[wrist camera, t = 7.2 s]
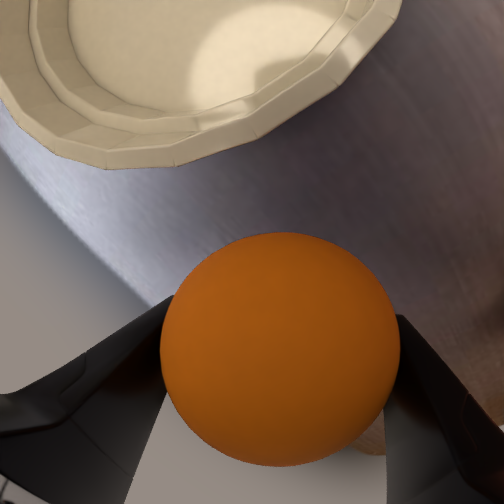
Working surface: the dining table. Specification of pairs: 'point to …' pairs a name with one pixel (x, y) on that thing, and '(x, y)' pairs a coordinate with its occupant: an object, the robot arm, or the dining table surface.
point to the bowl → (174, 71)
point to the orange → (280, 349)
